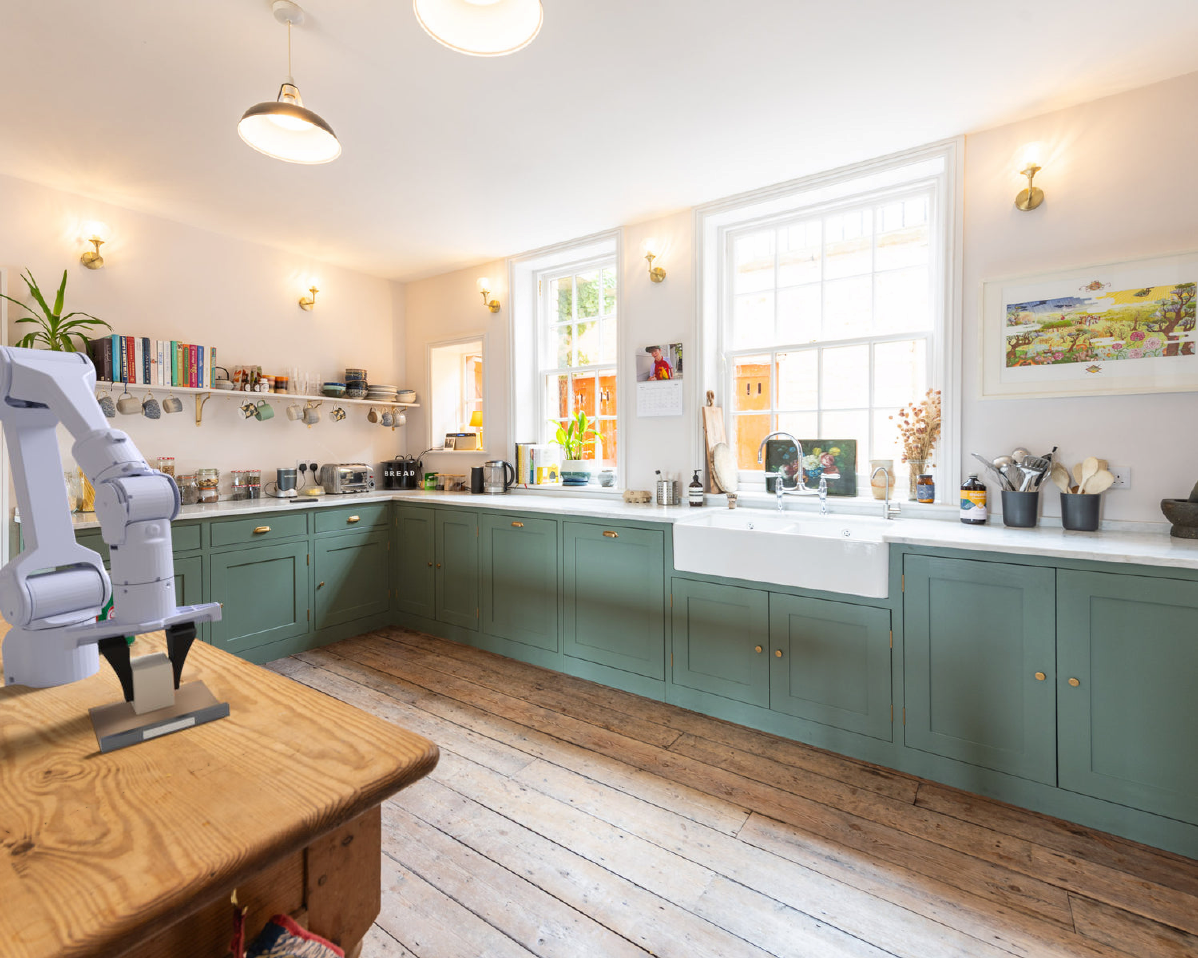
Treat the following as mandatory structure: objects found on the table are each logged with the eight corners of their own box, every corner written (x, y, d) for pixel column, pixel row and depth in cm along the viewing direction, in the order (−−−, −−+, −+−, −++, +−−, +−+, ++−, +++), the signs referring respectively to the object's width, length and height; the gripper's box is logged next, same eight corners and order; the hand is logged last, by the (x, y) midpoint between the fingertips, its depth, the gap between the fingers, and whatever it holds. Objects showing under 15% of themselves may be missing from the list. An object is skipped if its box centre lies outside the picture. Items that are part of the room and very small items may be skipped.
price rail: (101, 753, 58) (101, 741, 58) (100, 749, 59) (99, 737, 59) (230, 715, 66) (229, 704, 66) (227, 712, 67) (226, 701, 67)
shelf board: (103, 767, 58) (101, 753, 58) (89, 721, 68) (88, 708, 68) (230, 727, 66) (229, 714, 66) (201, 691, 76) (201, 679, 76)
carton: (176, 704, 69) (173, 662, 69) (136, 714, 66) (133, 671, 66) (167, 690, 73) (164, 650, 72) (130, 700, 70) (126, 659, 70)
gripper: (61, 598, 61) (72, 726, 62) (224, 573, 71) (231, 683, 72) (57, 586, 66) (67, 705, 67) (210, 565, 76) (217, 668, 77)
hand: (152, 693), depth 69 cm, fingers closed on carton, 4 cm apart
